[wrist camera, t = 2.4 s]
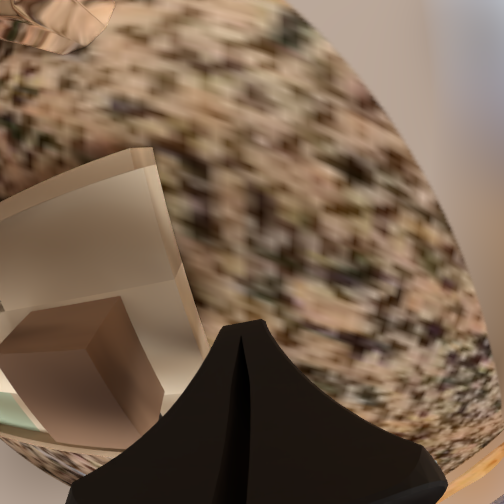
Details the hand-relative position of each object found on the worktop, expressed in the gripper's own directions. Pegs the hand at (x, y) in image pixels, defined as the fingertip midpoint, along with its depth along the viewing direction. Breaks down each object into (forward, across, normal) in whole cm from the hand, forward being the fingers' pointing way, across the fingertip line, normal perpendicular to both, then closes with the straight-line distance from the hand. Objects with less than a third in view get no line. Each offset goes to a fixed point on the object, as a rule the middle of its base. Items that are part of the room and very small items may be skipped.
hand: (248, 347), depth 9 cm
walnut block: (+1, +6, 0) cm, 6 cm away
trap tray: (+2, +11, 0) cm, 11 cm away
